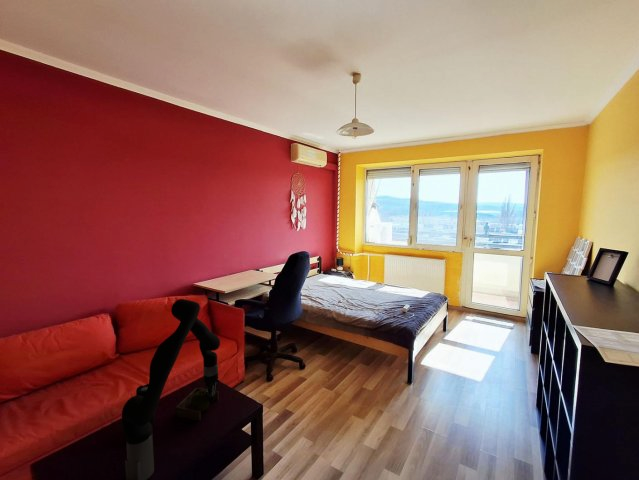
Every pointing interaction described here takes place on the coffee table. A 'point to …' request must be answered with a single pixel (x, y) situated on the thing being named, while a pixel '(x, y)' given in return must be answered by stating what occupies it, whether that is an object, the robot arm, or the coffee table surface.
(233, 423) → the coffee table surface
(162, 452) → the coffee table surface
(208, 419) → the coffee table surface
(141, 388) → the travel mug
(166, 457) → the coffee table surface
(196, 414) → the frame
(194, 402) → the apple
